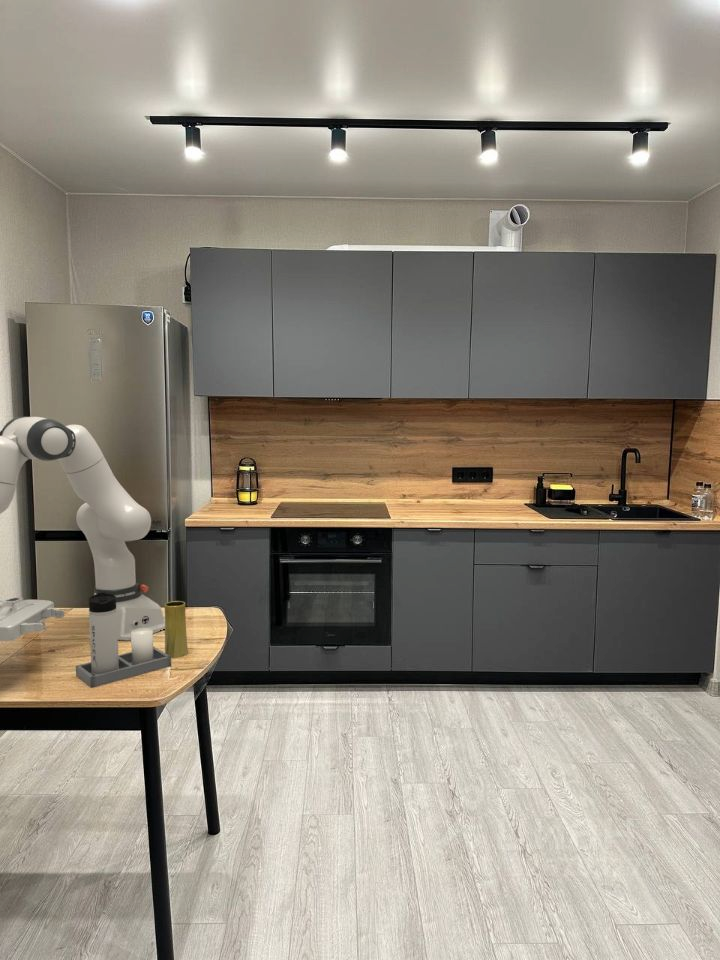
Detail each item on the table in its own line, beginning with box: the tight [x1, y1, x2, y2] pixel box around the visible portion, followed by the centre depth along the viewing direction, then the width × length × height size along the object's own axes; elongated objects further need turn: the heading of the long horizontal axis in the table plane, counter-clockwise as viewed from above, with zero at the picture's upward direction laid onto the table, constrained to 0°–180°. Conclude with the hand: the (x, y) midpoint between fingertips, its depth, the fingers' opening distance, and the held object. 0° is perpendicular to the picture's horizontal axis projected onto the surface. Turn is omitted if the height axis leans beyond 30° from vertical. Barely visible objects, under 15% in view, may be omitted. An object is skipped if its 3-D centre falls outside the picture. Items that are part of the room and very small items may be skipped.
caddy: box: [75, 645, 172, 689], centre depth 165 cm, size 20×10×3 cm, turn 132°
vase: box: [164, 600, 189, 659], centre depth 176 cm, size 6×6×14 cm
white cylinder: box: [130, 628, 154, 665], centre depth 168 cm, size 5×5×9 cm
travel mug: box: [88, 592, 119, 676], centre depth 161 cm, size 6×7×20 cm
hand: (53, 620), depth 162 cm, fingers open, 8 cm apart
